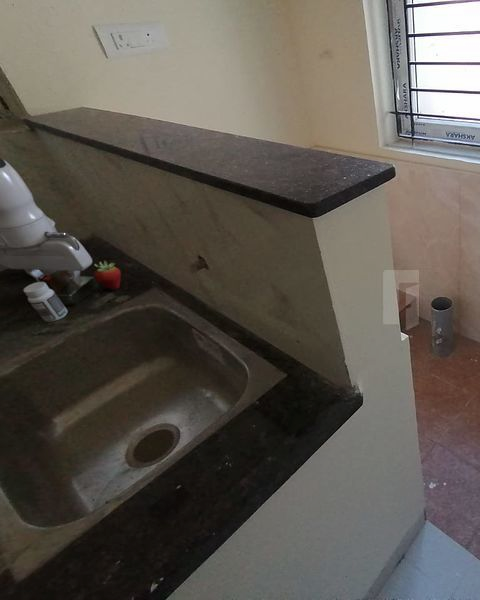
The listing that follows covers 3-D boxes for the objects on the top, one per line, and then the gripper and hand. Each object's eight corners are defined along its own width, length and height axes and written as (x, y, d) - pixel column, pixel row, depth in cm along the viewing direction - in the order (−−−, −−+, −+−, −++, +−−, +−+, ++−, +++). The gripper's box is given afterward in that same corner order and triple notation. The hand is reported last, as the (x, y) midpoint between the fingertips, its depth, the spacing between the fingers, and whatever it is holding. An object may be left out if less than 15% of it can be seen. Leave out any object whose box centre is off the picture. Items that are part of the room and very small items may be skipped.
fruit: (131, 287, 99) (117, 260, 94) (109, 297, 96) (93, 270, 91) (122, 281, 101) (107, 254, 97) (100, 290, 98) (84, 264, 93)
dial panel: (34, 306, 93) (26, 296, 91) (66, 282, 101) (60, 272, 99) (73, 308, 92) (66, 297, 91) (103, 283, 101) (97, 273, 99)
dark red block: (69, 278, 97) (61, 265, 95) (75, 278, 97) (67, 265, 95) (50, 292, 93) (41, 279, 90) (56, 292, 93) (47, 279, 90)
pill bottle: (66, 307, 93) (45, 278, 88) (70, 316, 90) (49, 286, 85) (42, 316, 90) (19, 286, 85) (45, 325, 88) (22, 295, 82)
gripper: (81, 226, 88) (110, 276, 96) (-2, 224, 89) (34, 274, 98) (59, 239, 83) (92, 291, 91) (-28, 237, 84) (12, 289, 93)
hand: (61, 282), depth 95 cm, fingers open, 7 cm apart
